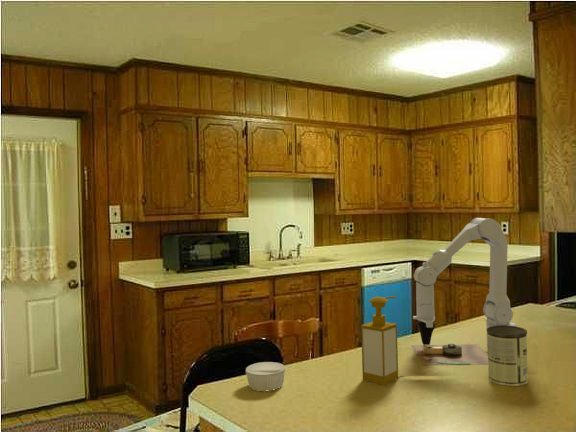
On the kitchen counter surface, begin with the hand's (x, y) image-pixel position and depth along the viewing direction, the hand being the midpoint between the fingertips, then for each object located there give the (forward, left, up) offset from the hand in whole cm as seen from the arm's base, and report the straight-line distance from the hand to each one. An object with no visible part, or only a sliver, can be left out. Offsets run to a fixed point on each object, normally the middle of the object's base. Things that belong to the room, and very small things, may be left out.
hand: (426, 344), depth 177 cm
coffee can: (-17, +27, -3) cm, 33 cm away
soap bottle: (+16, +23, -3) cm, 29 cm away
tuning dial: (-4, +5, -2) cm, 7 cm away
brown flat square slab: (-7, +5, -3) cm, 9 cm away
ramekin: (+50, +30, -3) cm, 59 cm away
